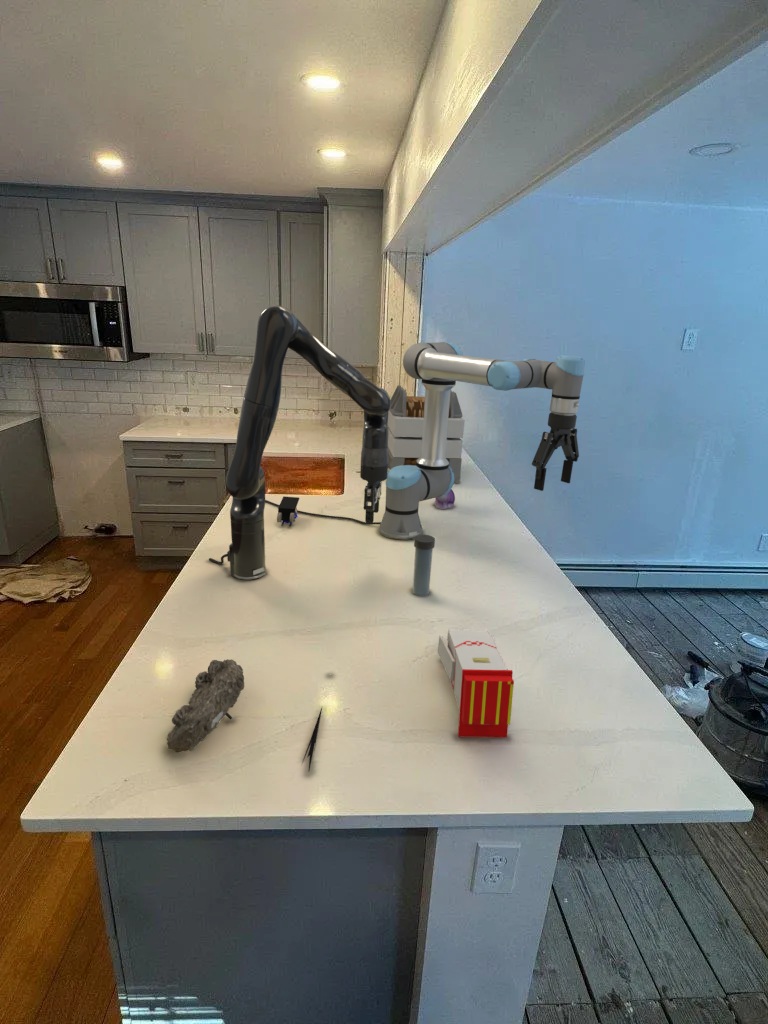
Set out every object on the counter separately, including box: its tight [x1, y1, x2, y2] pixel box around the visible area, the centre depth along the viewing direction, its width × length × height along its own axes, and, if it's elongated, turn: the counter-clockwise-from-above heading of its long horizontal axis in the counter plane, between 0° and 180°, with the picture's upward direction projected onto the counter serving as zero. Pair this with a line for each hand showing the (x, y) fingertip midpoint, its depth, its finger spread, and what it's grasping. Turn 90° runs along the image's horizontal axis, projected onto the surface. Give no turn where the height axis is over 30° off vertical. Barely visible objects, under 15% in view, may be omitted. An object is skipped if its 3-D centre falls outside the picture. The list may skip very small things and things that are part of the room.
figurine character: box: [276, 495, 300, 527], centre depth 205 cm, size 7×8×15 cm
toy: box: [437, 628, 515, 738], centre depth 117 cm, size 12×13×30 cm
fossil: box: [166, 658, 245, 754], centre depth 106 cm, size 22×10×15 cm
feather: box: [301, 673, 332, 771], centre depth 108 cm, size 2×28×2 cm
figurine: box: [434, 488, 456, 510], centre depth 228 cm, size 9×10×15 cm
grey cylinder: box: [412, 547, 434, 597], centre depth 157 cm, size 5×5×16 cm
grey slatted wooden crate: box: [388, 384, 465, 484], centre depth 268 cm, size 34×33×41 cm
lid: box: [413, 534, 436, 550], centre depth 154 cm, size 6×6×2 cm
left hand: (372, 517), depth 161 cm, fingers open, 8 cm apart
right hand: (552, 485), depth 166 cm, fingers open, 13 cm apart
